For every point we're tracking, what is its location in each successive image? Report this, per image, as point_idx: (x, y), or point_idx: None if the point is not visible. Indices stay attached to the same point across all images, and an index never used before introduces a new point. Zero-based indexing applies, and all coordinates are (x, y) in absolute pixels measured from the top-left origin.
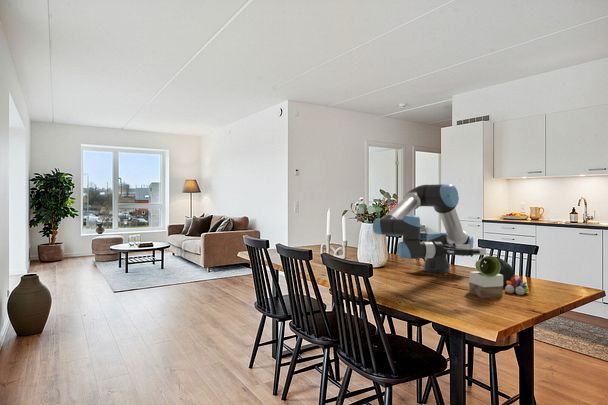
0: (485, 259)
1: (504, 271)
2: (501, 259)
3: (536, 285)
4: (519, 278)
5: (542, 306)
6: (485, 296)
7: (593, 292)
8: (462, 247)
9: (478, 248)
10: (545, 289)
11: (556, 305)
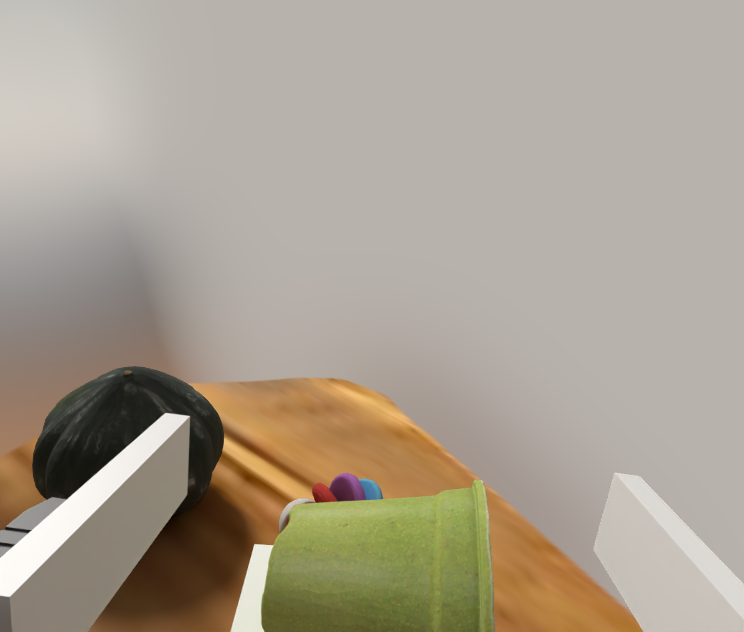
0: (333, 506)
1: (210, 444)
2: (166, 375)
3: (252, 426)
4: (357, 478)
5: (599, 622)
6: None
7: (375, 392)
8: (119, 534)
9: (680, 547)
10: (313, 440)
11: (558, 556)
